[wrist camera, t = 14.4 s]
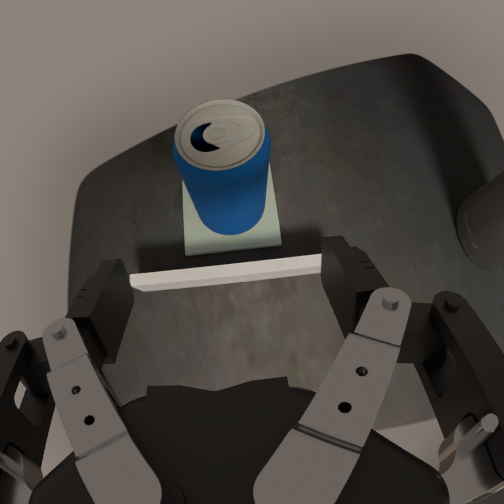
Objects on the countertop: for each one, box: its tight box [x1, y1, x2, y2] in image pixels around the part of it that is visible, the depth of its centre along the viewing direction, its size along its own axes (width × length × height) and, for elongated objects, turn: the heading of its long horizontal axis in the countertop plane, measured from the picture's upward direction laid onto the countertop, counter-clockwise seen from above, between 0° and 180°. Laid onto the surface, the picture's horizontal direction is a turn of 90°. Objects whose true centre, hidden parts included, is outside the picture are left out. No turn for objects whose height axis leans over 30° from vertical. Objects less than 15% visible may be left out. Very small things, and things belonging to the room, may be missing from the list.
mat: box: [182, 164, 282, 256], centre depth 30 cm, size 9×9×1 cm
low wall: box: [130, 254, 322, 291], centre depth 27 cm, size 18×1×4 cm, turn 96°
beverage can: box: [173, 99, 271, 235], centre depth 24 cm, size 6×6×12 cm
